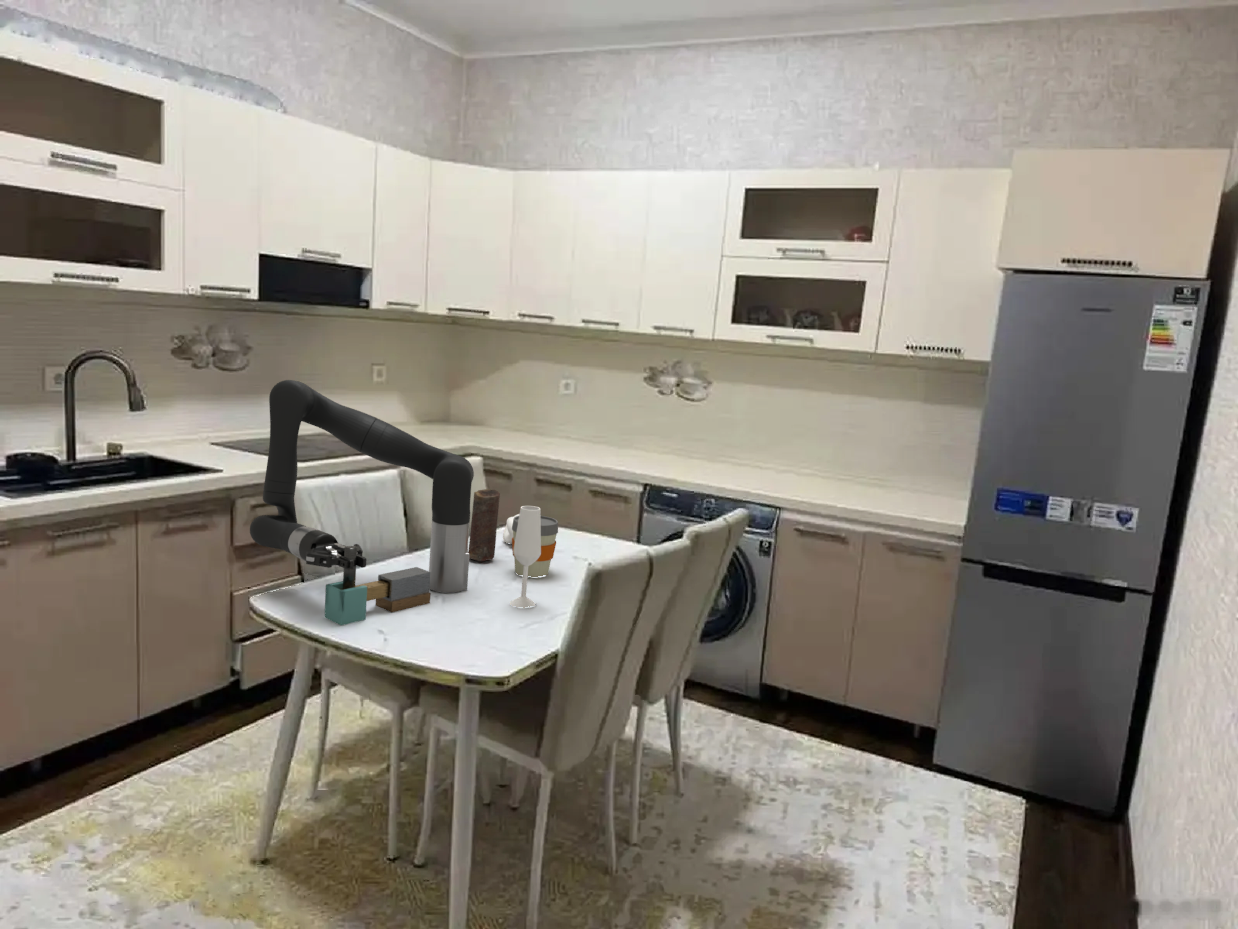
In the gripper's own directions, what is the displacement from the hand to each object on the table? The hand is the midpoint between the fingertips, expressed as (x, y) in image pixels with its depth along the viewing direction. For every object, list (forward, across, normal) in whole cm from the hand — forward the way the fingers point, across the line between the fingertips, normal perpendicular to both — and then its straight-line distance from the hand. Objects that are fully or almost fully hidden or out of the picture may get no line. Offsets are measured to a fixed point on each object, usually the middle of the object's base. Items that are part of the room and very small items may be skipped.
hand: (358, 564), depth 184 cm
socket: (-3, -1, +13) cm, 13 cm away
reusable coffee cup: (-3, +58, +13) cm, 59 cm away
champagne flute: (+14, +38, +13) cm, 42 cm away
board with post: (-3, +5, +9) cm, 11 cm away
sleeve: (-3, +15, +13) cm, 20 cm away
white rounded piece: (-25, +75, +13) cm, 80 cm away
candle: (-19, +55, +13) cm, 60 cm away
